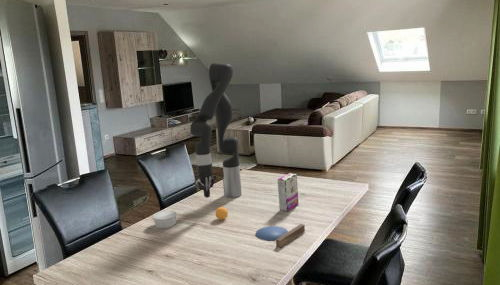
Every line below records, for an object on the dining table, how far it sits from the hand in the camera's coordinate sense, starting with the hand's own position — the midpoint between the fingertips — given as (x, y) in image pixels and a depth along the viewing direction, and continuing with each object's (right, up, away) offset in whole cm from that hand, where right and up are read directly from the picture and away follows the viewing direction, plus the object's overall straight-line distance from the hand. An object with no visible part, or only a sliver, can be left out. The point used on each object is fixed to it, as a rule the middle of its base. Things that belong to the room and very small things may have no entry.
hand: (207, 197), depth 193 cm
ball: (+7, -7, -4) cm, 11 cm away
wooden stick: (+38, -13, -29) cm, 50 cm away
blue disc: (+30, -12, -23) cm, 40 cm away
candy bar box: (+41, -6, +6) cm, 42 cm away
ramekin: (-19, -13, -6) cm, 24 cm away
